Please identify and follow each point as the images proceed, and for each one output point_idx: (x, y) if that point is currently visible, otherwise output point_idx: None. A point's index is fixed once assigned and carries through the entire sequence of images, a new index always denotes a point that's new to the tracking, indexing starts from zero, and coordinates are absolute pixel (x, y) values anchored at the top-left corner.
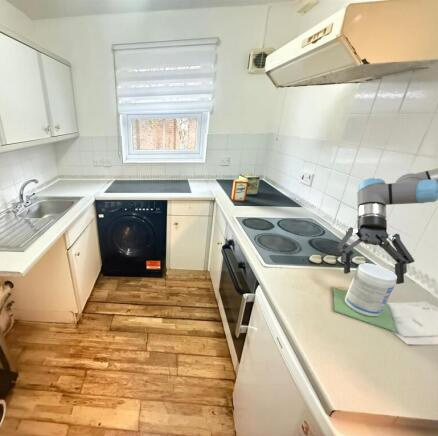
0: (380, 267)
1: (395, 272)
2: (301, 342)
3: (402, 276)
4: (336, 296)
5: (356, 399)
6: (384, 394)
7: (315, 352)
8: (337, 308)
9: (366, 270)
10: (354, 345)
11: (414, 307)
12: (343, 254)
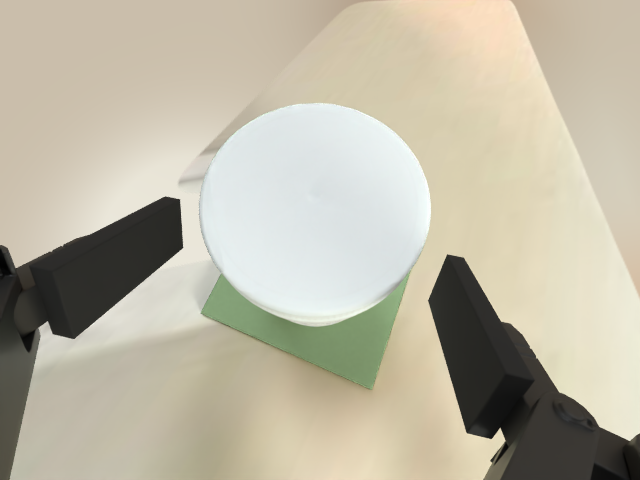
0: (252, 256)
1: (134, 283)
2: (548, 98)
3: (145, 210)
4: (386, 319)
5: (466, 6)
6: (410, 21)
7: (519, 78)
8: None
9: (395, 187)
10: (417, 113)
11: (100, 319)
12: (549, 387)
